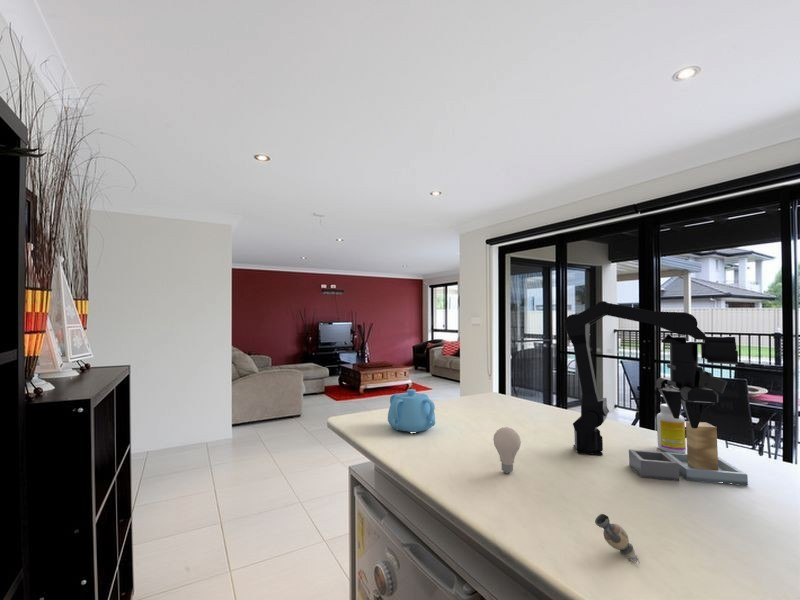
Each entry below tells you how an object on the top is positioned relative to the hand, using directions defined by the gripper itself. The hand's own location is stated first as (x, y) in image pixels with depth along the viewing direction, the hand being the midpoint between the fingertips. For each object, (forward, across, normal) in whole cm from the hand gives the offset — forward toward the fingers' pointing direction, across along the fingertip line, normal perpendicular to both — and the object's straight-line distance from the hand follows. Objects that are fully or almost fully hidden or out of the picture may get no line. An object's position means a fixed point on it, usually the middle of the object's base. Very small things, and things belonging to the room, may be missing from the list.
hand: (684, 423), depth 96 cm
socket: (+12, -4, +9) cm, 15 cm away
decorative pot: (+13, +18, +75) cm, 78 cm away
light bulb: (+12, -13, +44) cm, 47 cm away
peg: (+11, -1, -3) cm, 11 cm away
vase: (+12, -43, +28) cm, 53 cm away
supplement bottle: (+12, +16, -3) cm, 20 cm away
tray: (+12, -1, -3) cm, 12 cm away
